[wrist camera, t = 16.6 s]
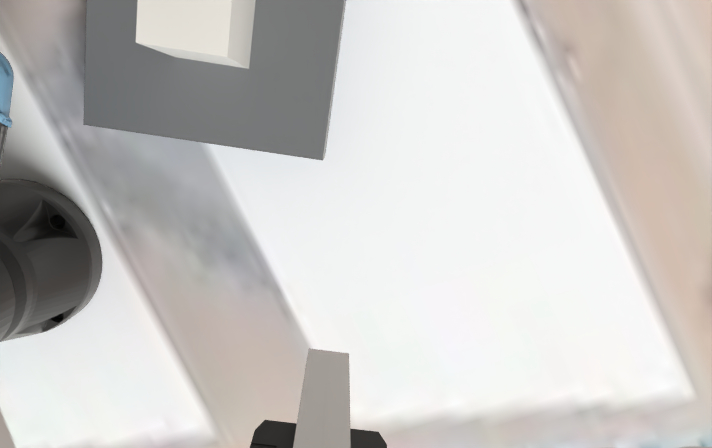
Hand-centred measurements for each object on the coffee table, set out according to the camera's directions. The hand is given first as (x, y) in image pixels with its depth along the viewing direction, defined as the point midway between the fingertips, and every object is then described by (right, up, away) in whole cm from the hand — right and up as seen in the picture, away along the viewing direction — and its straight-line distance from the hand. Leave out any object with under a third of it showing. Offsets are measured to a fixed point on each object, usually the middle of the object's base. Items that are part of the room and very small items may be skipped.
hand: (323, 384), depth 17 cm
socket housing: (-10, +24, +25) cm, 36 cm away
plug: (-10, +23, +23) cm, 34 cm away
